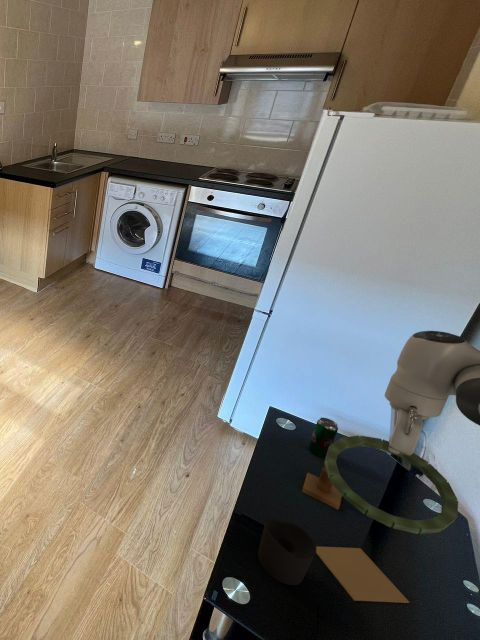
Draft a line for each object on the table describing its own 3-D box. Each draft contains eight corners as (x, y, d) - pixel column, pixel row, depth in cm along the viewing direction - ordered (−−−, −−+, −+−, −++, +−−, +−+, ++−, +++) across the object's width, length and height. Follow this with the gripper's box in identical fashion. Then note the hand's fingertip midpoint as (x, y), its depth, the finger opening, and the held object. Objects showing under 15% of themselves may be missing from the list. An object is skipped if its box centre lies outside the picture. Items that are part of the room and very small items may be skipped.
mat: (359, 549, 100) (360, 548, 100) (409, 603, 89) (409, 602, 89) (311, 547, 101) (311, 546, 100) (353, 600, 89) (354, 599, 89)
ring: (457, 473, 89) (460, 469, 88) (451, 557, 78) (454, 553, 78) (335, 425, 103) (336, 421, 102) (315, 490, 93) (317, 486, 92)
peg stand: (341, 493, 116) (349, 471, 114) (338, 510, 111) (347, 487, 108) (306, 476, 122) (313, 455, 119) (301, 491, 116) (309, 469, 114)
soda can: (309, 444, 134) (319, 414, 131) (328, 452, 131) (339, 422, 127) (306, 452, 131) (317, 421, 127) (327, 461, 127) (338, 430, 124)
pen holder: (292, 596, 90) (305, 564, 87) (247, 559, 97) (257, 528, 94) (311, 574, 94) (323, 543, 91) (267, 540, 102) (276, 510, 99)
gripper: (436, 427, 82) (413, 480, 86) (432, 386, 95) (412, 434, 99) (393, 411, 86) (372, 463, 90) (395, 374, 100) (377, 420, 104)
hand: (393, 447), depth 95 cm, fingers closed on ring, 2 cm apart
